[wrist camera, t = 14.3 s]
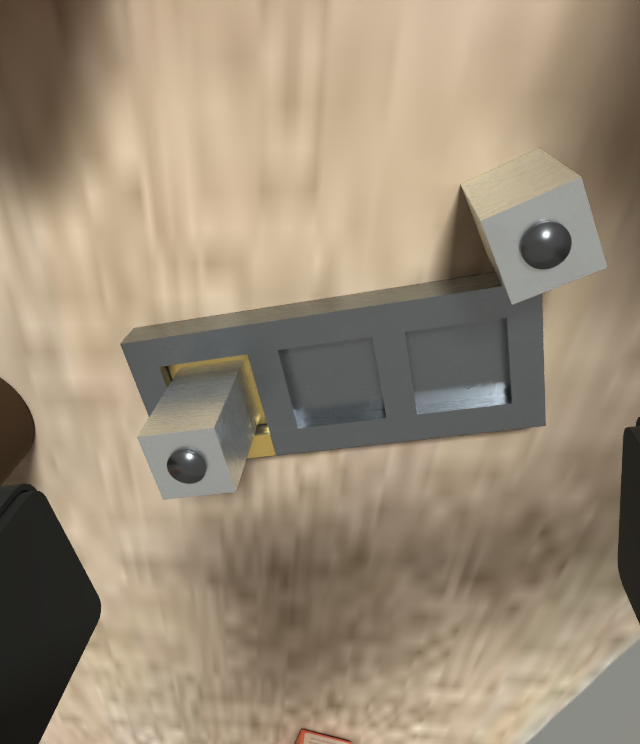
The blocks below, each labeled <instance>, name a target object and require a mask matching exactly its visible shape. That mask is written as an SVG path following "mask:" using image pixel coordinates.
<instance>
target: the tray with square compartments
mask: <svg viewBox="0 0 640 744" xmlns="http://www.w3.org/2000/svg"><path fill="white" fill-rule="evenodd" d="M121 347H122V350H123V352H124V355H125V357H126V360H127V362H128V365H129V367H130V370H131V372H132V375H133V377H134V380H135V382H136V385H137V388H138V390H139V393H140V395H141V398H142V400H143V403H144V405H145V408H146V410H147V413H148V415H149V417H150V415H151V414H152V412H153V411H154V409H155V407H156V406H157V404H158V402H159V401H160V399H161V398H162V396H163V394H164V393H165V391H166V389H167V388H168V386H169V384H170V383H171V381H172V380H173V378H174V376H175V375H176V373H177V371H178V370H179V368H183V367H190V366H197V365H204V364H211V363H219V362H226V361H233V360H240V359H244V361H245V365H246V368H247V372H248V375H249V379H250V382H251V385H252V389H253V392H254V396H255V399H256V402H257V406H258V409H259V413H260V419H259V422H258V425H257V428H256V431H255V434H254V438H253V441H252V444H251V447H250V450H249V453H248V456H247V459H249V458H258V457H267V456H276V455H285V454H294V453H303V452H312V451H322V450H331V449H340V448H349V447H358V446H367V445H376V444H385V443H394V442H403V441H412V440H421V439H430V438H439V437H448V436H458V435H467V434H476V433H485V432H494V431H503V430H512V429H521V428H530V427H539V426H546V423H545V387H544V351H543V316H542V293H541V294H539V295H536V296H533V297H531V298H528V299H526V300H523V301H521V302H518V303H515V304H513V305H512V304H511V302H510V300H509V298H508V296H507V294H506V292H505V290H504V288H503V286H502V284H501V282H500V280H499V278H498V276H497V274H496V272H494V273H487V274H481V275H474V276H468V277H461V278H455V279H448V280H442V281H435V282H429V283H423V284H416V285H410V286H403V287H397V288H390V289H384V290H377V291H371V292H364V293H358V294H351V295H345V296H339V297H332V298H326V299H319V300H313V301H306V302H300V303H293V304H287V305H280V306H274V307H268V308H261V309H255V310H248V311H242V312H235V313H229V314H222V315H216V316H209V317H203V318H197V319H190V320H184V321H177V322H171V323H164V324H158V325H151V326H145V327H138V328H134V329H133V330H132V331H131V332H130V333H129V334H128V335H127V337H126V338H125V339H124V340H123V341H122V342H121Z"/></svg>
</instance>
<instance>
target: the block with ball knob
mask: <svg viewBox="0 0 640 744" xmlns="http://www.w3.org/2000/svg"><path fill="white" fill-rule="evenodd" d="M461 187H462V190H463V192H464V195H465V197H466V200H467V203H468V205H469V208H470V211H471V213H472V216H473V219H474V221H475V224H476V227H477V229H478V232H479V235H480V237H481V240H482V243H483V245H484V248H485V251H486V253H487V255H488V257H489V259H490V261H491V263H492V265H493V267H494V270H495V272H496V274H497V276H498V278H499V280H500V282H501V284H502V286H503V288H504V290H505V292H506V294H507V296H508V298H509V300H510V302H511V304H512V305H513V304H515V303H518V302H521V301H523V300H526V299H528V298H531V297H533V296H536V295H539V294H541V293H544V292H546V291H549V290H551V289H554V288H557V287H559V286H562V285H564V284H567V283H569V282H572V281H575V280H577V279H580V278H582V277H585V276H587V275H590V274H593V273H595V272H598V271H600V270H603V269H605V268H608V267H607V264H606V260H605V257H604V253H603V250H602V246H601V243H600V239H599V236H598V232H597V229H596V225H595V222H594V219H593V215H592V212H591V208H590V205H589V201H588V198H587V194H586V191H585V187H584V184H583V180H582V177H581V176H579V175H578V174H577V173H575V172H574V171H572V170H571V169H569V168H568V167H566V166H565V165H563V164H562V163H560V162H559V161H557V160H556V159H555V158H553V157H552V156H550V155H549V154H547V153H546V152H544V151H543V150H541V149H540V148H538V149H536V150H534V151H531V152H529V153H527V154H525V155H523V156H520V157H518V158H516V159H514V160H512V161H510V162H507V163H505V164H503V165H501V166H499V167H496V168H494V169H492V170H490V171H488V172H486V173H483V174H481V175H479V176H477V177H475V178H473V179H470V180H468V181H466V182H464V183H462V184H461Z"/></svg>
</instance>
